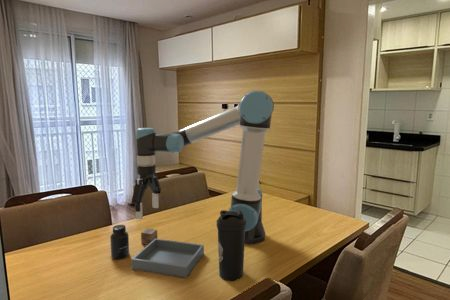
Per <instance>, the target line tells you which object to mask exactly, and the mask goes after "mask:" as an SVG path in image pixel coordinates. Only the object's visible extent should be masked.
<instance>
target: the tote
mask: <svg viewBox="0 0 450 300" xmlns="http://www.w3.org/2000/svg"><path fill="white" fill-rule="evenodd" d="M204 250H205V245H204V244H202V243H199V244H198V243H191V242H183V241H177V240H169V239H161V238H157V239H154V240H153V241H152V242H151V243H149V244H146V246H145V247H144V248H142V249H141V250H140V251H139V252H138V253H136V254H135V255H134V256H133V257H132V258H131V260H130V262H131V270H133V271H139V272H146V273H151V274H152V273H153V274H157V275H164V276H169V277H176V278H182V279H188V277H189V276H190V274H191V273H192V272H193V270H194V269H195V268H196V266H197V265H198V263H199V262H200V260H201V259H202V258H203V256H204V255H205V251H204Z"/></svg>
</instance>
